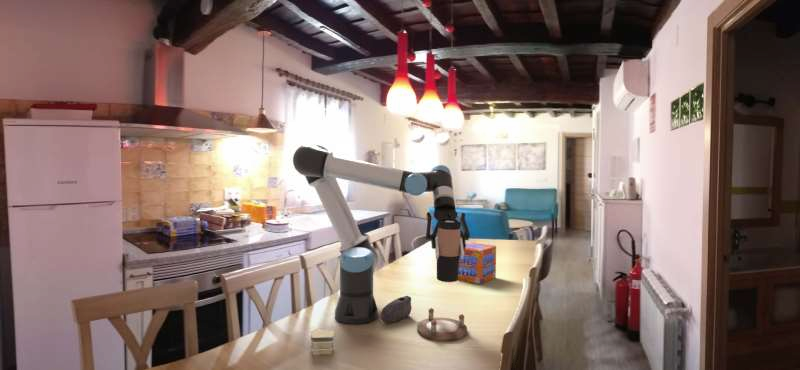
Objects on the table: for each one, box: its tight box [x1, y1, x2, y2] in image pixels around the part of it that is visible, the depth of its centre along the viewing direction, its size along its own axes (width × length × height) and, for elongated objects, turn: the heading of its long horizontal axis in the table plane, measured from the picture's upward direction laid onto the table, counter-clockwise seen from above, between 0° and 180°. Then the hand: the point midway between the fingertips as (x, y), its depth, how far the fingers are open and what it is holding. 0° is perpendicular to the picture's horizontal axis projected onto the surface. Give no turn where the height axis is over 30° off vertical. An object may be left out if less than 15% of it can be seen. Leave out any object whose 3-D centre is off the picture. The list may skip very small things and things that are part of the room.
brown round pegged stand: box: [416, 307, 468, 343], centre depth 134 cm, size 16×16×6 cm
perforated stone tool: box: [380, 295, 413, 324], centre depth 144 cm, size 15×5×7 cm, turn 136°
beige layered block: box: [309, 329, 336, 356], centre depth 119 cm, size 10×9×6 cm
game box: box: [457, 241, 497, 285], centre depth 199 cm, size 16×16×16 cm
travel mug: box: [436, 218, 462, 283], centre depth 139 cm, size 8×8×20 cm
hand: (449, 256), depth 136 cm, fingers closed on travel mug, 7 cm apart
